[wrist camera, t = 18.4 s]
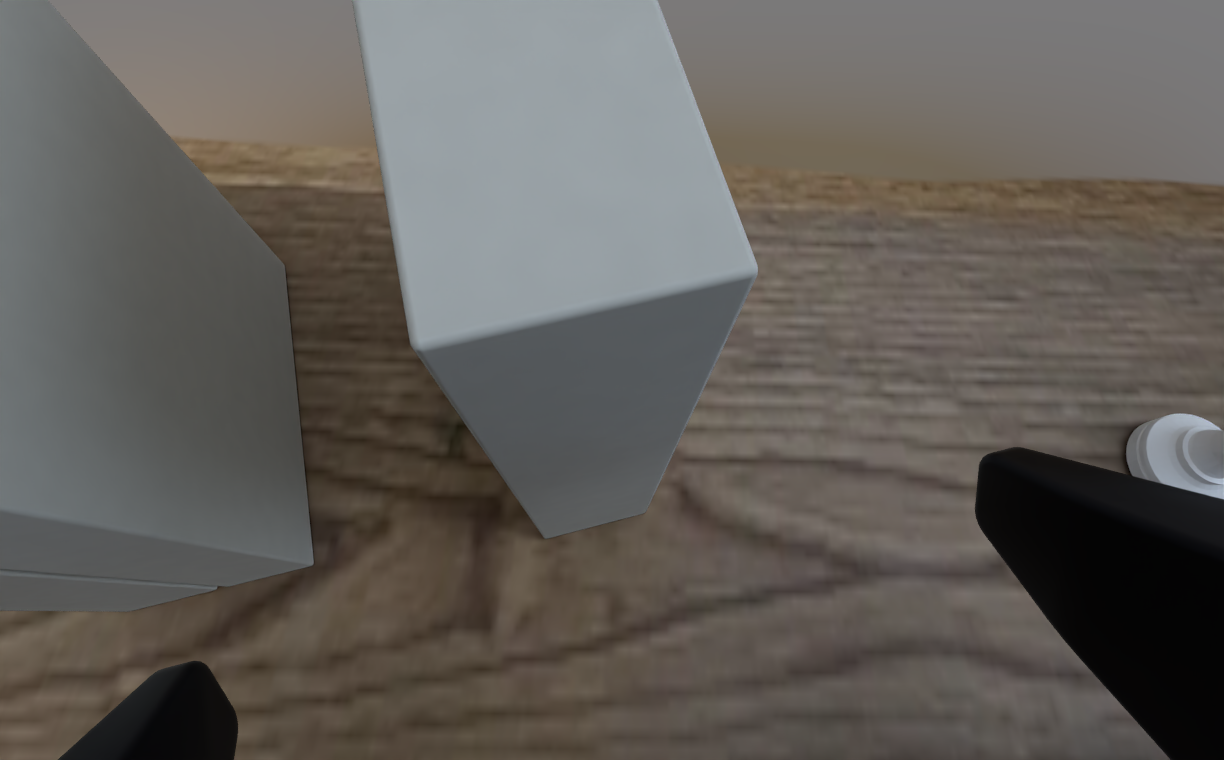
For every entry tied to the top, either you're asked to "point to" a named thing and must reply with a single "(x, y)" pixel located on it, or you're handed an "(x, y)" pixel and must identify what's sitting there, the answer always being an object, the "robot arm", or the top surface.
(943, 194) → the top surface
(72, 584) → the white books
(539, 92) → the white book
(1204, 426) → the chess pawn
